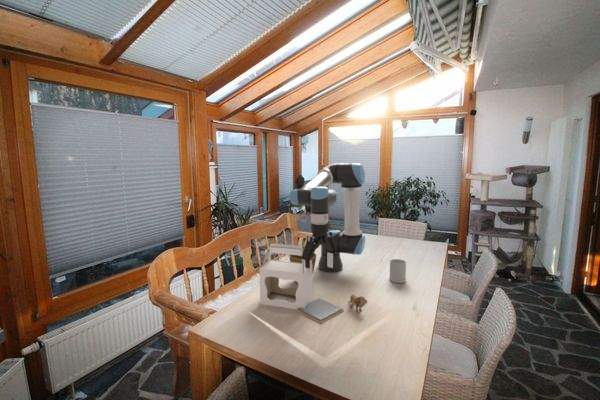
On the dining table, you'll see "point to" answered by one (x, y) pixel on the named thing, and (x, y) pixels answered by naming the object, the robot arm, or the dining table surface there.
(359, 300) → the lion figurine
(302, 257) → the robot arm
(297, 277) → the gable box
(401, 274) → the mug
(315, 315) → the pad
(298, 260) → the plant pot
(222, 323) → the dining table surface
